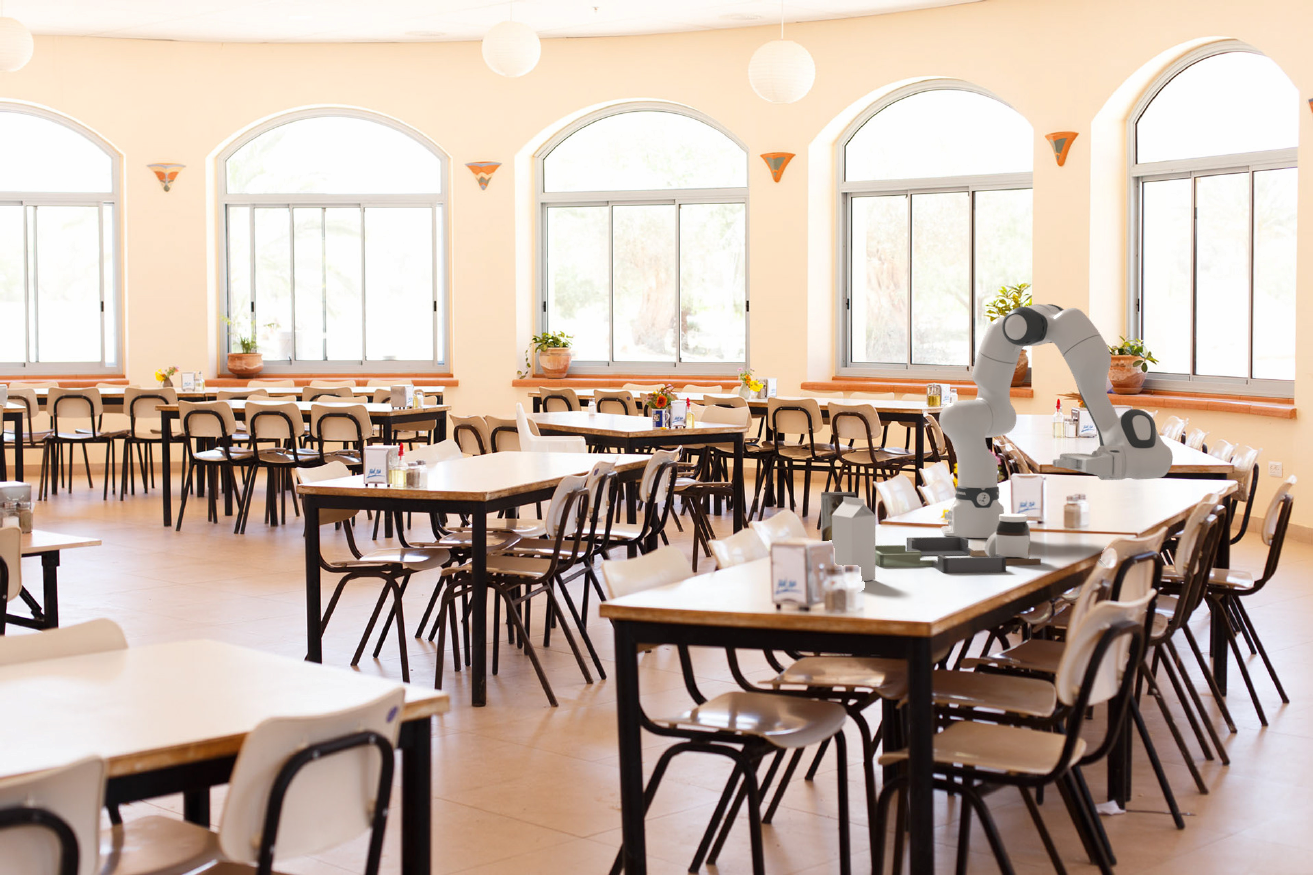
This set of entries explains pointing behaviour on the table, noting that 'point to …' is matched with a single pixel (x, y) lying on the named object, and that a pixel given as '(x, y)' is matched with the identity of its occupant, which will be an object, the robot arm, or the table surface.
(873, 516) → the milk carton
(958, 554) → the grey open tray
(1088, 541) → the table surface
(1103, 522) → the table surface
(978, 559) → the dark grey shallow tray
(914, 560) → the lane
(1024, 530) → the spread jar
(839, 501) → the coffee box
